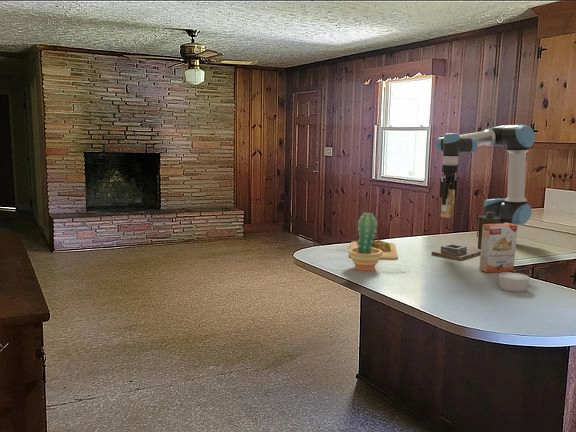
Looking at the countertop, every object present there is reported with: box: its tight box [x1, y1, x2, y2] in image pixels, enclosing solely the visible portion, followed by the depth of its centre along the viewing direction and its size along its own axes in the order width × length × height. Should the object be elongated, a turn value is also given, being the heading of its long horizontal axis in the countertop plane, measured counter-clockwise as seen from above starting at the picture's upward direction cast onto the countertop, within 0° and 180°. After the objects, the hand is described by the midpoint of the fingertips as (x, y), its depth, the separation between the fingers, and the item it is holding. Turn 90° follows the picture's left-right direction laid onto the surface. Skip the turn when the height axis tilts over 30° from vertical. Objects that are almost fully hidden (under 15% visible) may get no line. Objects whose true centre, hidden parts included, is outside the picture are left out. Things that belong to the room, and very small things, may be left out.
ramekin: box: [498, 272, 530, 293], centre depth 210 cm, size 11×11×5 cm
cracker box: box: [478, 222, 518, 274], centre depth 236 cm, size 14×6×21 cm, turn 105°
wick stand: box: [431, 243, 481, 261], centre depth 270 cm, size 24×16×4 cm, turn 133°
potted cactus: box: [347, 212, 383, 271], centre depth 239 cm, size 15×15×25 cm
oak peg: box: [440, 189, 455, 219], centre depth 271 cm, size 4×4×14 cm
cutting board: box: [348, 239, 399, 261], centre depth 274 cm, size 35×23×8 cm
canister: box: [476, 212, 501, 249], centre depth 278 cm, size 11×10×20 cm
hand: (447, 210), depth 271 cm, fingers closed on oak peg, 4 cm apart
